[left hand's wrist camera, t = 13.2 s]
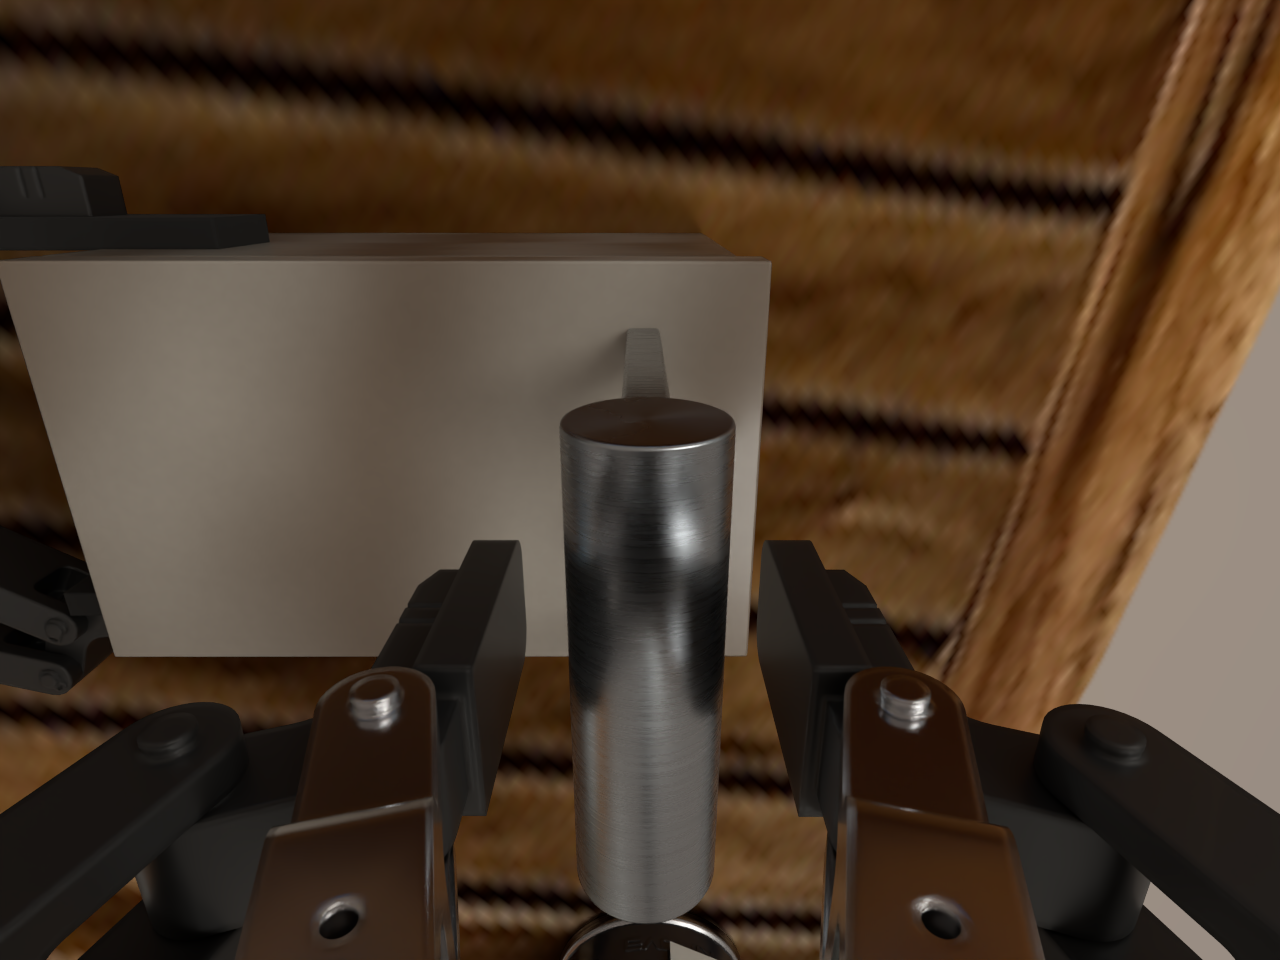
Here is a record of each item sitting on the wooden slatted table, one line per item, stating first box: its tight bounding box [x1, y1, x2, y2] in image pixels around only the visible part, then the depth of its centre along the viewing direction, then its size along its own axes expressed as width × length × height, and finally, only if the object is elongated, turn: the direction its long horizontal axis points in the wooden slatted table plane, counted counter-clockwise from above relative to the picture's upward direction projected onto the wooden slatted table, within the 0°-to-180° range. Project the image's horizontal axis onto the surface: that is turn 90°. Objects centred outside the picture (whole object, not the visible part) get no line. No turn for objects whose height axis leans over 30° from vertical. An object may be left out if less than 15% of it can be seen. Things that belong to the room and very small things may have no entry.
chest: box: [45, 233, 737, 257], centre depth 22 cm, size 15×10×10 cm, turn 90°
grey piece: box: [0, 256, 772, 924], centre depth 14 cm, size 16×10×9 cm, turn 90°
